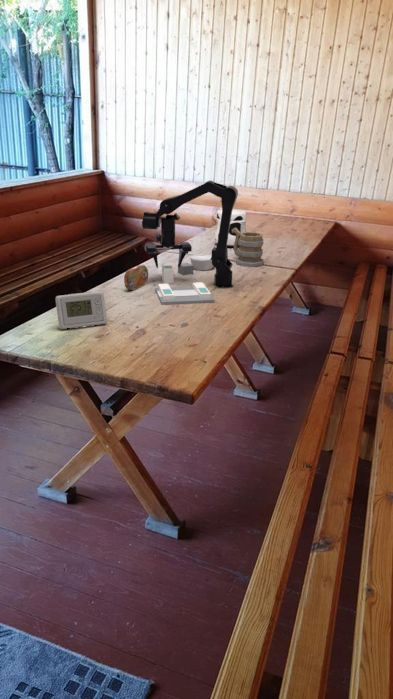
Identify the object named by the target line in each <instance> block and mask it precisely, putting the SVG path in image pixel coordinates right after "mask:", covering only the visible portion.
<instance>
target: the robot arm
mask: <svg viewBox="0 0 393 699" xmlns="http://www.w3.org/2000/svg"><path fill="white" fill-rule="evenodd" d="M208 193H210V194H212V195H214V196H215V197H217V198H220V199H221V201H220V202H221V210H222V216H221V223H220V230H219V237H218V243H216V246H214V247H213V248H212V250H211V256H212V257H211V259H210V260H212V265H213V268H215V273H214V277H213V278H214V279H213V282H214V285H215V286H216V287H217V288H233V287H234V286H233V270H232V267H233V263H232V262H231V261H230V259H229V256H228V254H229V253H228V247H227V241H228V235H229V228H230V222H231V215H232V210H233V209H234V207H235V204H236V201H237V199H238V196H239V191H238V189H237V187H235V186H233V185H224V184H221V183H219V182H215V181H213V180H207V181H206V182H205V183H203V184H200V185H199V186H197V187H194V188H192V189H190V190H188V191H186V192H184V193H181V194H177V195H174V196H169V197H167V198H164V199H163V200H161V202H160V204H159V209H158V210H157V211H156V212H149V211H144V212H143V216H142V221H141V227H142V229H143V230H158V228H160V233H155V234H154V235H155V242H156V243H157V242H159V244H158V245H157V244H156V243H155V242H146V243H145V244H144V251H145V253H147V254H149V255H150V256H151V257H152V258H153V261H154V264H155V268H156V269H159V263H158V254H157V251H162V250H163V251H165V250H178V260H177V261H178V263H177V268H178V267H179V268H180V265H181V264H182V263H183V260H184V258H185V256H187V254H189V252H192V249H193V248H192V245H191V243H189V242H188V241H181V242H179V244H176V221H179V220H180V219H181V217H180V216H179V215H178V214H177V213H176V212H175V211H176V210H177V209H179V208H180V207H181V206H183V205H184V204H186V203H189V202H191V201H193V200H195V199H196V198H197V199H198V198H200V197H201V196H203V195H206V194H208ZM173 212H175V213H174V214H172V213H173ZM164 215H165V216H164Z"/></svg>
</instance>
